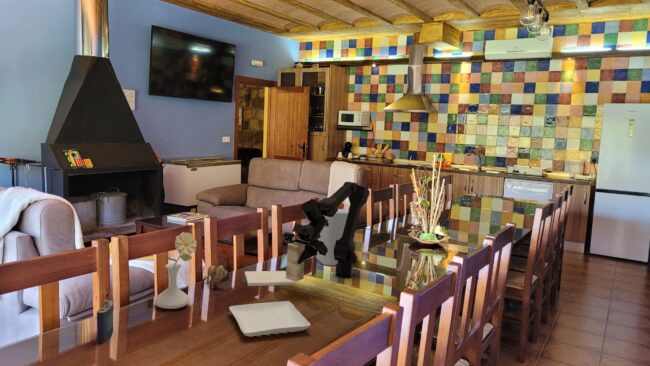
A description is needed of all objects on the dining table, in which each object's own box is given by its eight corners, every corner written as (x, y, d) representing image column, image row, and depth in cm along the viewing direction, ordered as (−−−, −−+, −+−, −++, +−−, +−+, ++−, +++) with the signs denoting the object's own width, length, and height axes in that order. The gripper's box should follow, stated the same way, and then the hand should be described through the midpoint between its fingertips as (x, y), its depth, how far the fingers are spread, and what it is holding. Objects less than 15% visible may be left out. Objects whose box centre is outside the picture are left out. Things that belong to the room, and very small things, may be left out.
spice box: (294, 275, 181) (296, 242, 180) (303, 278, 178) (305, 244, 177) (285, 278, 178) (287, 244, 176) (295, 281, 175) (297, 246, 173)
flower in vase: (156, 314, 154) (158, 237, 151) (151, 301, 164) (153, 229, 161) (198, 309, 160) (200, 235, 157) (190, 297, 170) (193, 227, 167)
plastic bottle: (342, 256, 236) (347, 200, 232) (354, 265, 221) (359, 205, 218) (313, 257, 231) (317, 199, 227) (323, 266, 217) (327, 205, 213)
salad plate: (227, 315, 158) (227, 305, 157) (288, 309, 166) (289, 299, 166) (242, 343, 139) (243, 332, 138) (311, 335, 147) (312, 324, 147)
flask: (105, 329, 141) (106, 294, 139) (116, 329, 141) (116, 294, 140) (95, 344, 132) (95, 306, 130) (106, 344, 132) (106, 306, 131)
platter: (287, 273, 203) (287, 270, 203) (294, 284, 190) (294, 282, 190) (244, 274, 199) (244, 271, 199) (248, 285, 185) (248, 282, 185)
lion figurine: (228, 289, 180) (229, 266, 179) (214, 291, 177) (215, 268, 176) (212, 278, 192) (213, 256, 190) (199, 279, 188) (200, 257, 187)
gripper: (287, 211, 184) (264, 243, 177) (325, 219, 172) (302, 255, 165) (299, 228, 191) (278, 260, 184) (336, 238, 180) (316, 272, 172)
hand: (293, 262), depth 176 cm, fingers closed on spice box, 5 cm apart
